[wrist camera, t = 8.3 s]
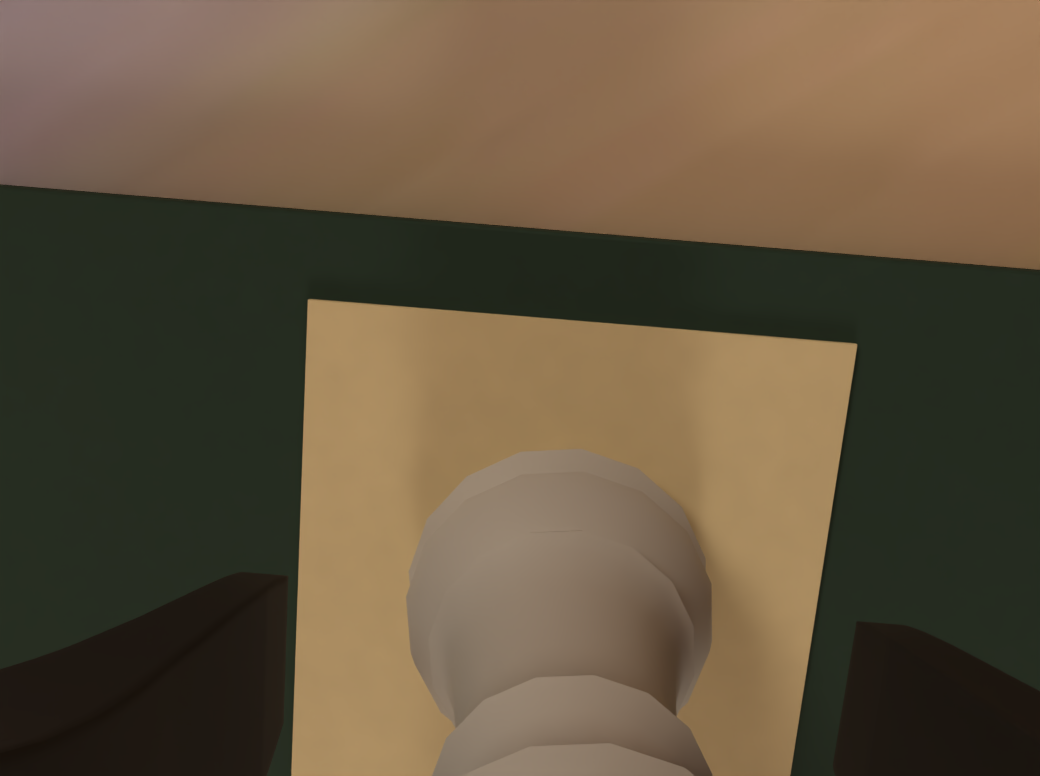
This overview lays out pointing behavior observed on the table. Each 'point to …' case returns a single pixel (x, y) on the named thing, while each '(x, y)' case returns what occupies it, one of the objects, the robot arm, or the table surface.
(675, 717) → the rook chess piece
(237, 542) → the felt mat
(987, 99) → the table surface
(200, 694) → the robot arm
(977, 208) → the table surface
